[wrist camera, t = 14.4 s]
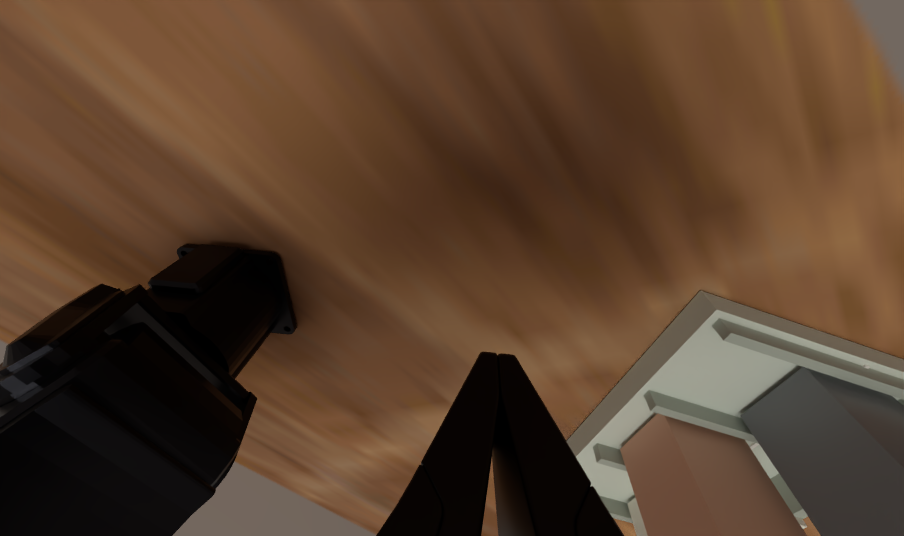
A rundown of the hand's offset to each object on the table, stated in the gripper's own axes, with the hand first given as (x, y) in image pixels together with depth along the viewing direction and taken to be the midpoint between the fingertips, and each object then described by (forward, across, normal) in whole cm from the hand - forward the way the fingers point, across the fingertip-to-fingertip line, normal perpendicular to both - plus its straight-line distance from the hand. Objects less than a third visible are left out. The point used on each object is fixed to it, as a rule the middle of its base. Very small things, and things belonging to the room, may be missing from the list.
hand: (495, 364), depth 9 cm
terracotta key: (+10, -15, +16) cm, 24 cm away
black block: (+10, -21, +11) cm, 26 cm away
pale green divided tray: (+12, -17, +17) cm, 27 cm away
